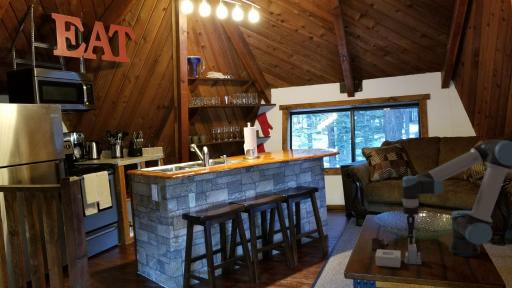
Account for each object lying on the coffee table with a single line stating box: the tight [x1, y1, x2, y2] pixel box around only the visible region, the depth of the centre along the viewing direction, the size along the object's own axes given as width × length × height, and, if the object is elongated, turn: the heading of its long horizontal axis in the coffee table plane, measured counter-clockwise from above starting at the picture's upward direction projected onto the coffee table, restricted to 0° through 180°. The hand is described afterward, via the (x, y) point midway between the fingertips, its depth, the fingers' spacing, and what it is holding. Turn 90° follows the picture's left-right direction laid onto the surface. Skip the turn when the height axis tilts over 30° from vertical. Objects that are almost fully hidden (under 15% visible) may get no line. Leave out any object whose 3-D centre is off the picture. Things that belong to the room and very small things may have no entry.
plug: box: [407, 243, 418, 263], centre depth 209 cm, size 4×3×9 cm
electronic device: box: [371, 237, 391, 252], centre depth 229 cm, size 4×10×8 cm, turn 44°
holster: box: [404, 251, 422, 265], centre depth 209 cm, size 8×6×5 cm
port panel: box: [374, 249, 402, 268], centre depth 210 cm, size 12×10×6 cm
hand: (411, 245), depth 208 cm, fingers open, 13 cm apart
